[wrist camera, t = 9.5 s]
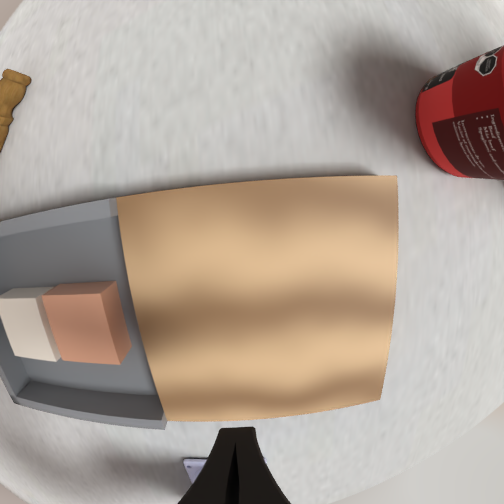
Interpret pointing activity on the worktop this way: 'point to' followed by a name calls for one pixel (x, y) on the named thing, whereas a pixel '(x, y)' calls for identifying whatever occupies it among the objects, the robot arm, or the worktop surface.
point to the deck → (264, 293)
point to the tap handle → (10, 98)
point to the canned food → (465, 117)
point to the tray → (76, 271)
